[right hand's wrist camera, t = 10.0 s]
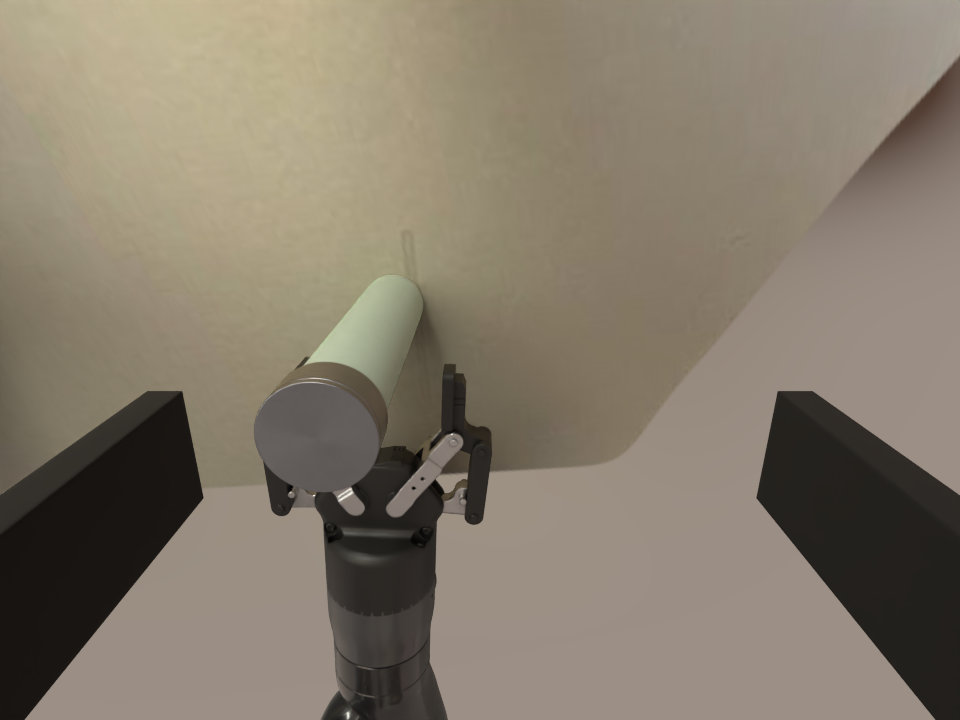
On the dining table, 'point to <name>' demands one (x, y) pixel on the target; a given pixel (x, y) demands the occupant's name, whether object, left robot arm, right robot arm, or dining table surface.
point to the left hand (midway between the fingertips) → (378, 364)
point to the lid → (322, 427)
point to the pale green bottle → (376, 332)
